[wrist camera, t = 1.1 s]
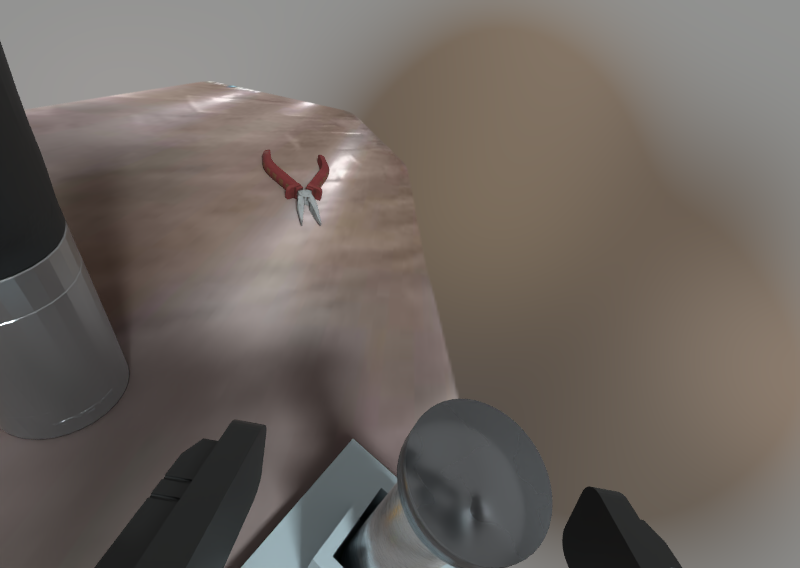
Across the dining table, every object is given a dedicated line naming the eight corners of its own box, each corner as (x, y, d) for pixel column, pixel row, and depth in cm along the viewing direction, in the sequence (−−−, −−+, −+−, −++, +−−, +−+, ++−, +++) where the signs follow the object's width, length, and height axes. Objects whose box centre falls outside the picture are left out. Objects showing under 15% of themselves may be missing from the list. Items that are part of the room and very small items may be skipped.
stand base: (220, 595, 26) (209, 574, 20) (350, 444, 36) (371, 397, 29) (372, 776, 23) (419, 822, 16) (471, 554, 32) (525, 527, 26)
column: (309, 577, 27) (373, 480, 12) (359, 508, 30) (452, 373, 16) (369, 640, 25) (521, 615, 11) (413, 560, 29) (569, 462, 15)
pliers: (271, 230, 55) (271, 216, 53) (261, 159, 67) (261, 145, 65) (346, 231, 59) (349, 218, 58) (324, 165, 72) (326, 152, 70)
